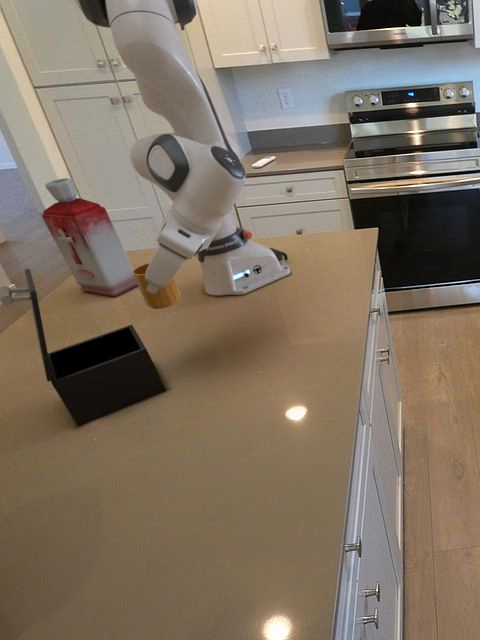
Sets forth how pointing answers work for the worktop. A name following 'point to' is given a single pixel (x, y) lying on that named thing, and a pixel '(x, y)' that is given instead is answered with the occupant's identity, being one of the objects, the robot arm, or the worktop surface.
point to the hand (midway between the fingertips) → (157, 282)
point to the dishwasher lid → (6, 298)
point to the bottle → (88, 241)
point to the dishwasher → (104, 374)
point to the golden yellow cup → (162, 296)
